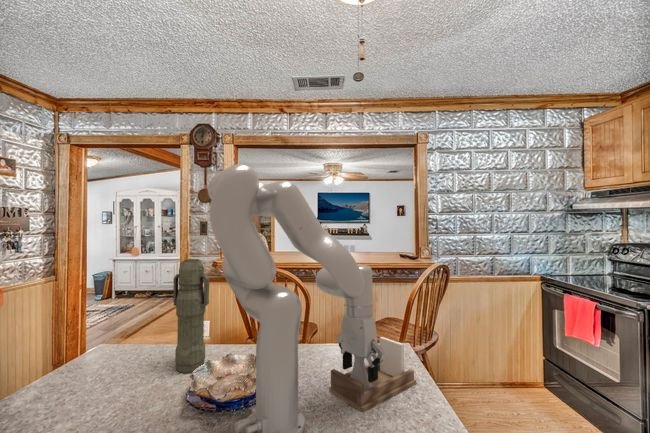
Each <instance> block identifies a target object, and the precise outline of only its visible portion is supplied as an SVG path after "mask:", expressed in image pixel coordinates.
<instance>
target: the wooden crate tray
mask: <svg viewBox="0 0 650 433" xmlns="http://www.w3.org/2000/svg"><path fill="white" fill-rule="evenodd" d="M368 366H370V365H369V363H368V364H365V368H366V371H367V374H368ZM351 373H352V370H351V371H348V372H346V373H343V372H341V371H339V370H337V369H335V368H332V369H331V370H330V387H329V388H328V392H329V393H331V394H332V395H334V396H336V397H337V398H339V399H341V400H342V401H344V402H345V403H347V404H349V405H350V406H352V407H353V408H355V409H357V410H359V411H360V412H362V413H365V412H367V411H369V410H371V409H372V408H374V407H376V406H378V405H380V404H382V403H384V402H386V401H388V400H389V399H391V398H393V397H396V396H397V395H398V394H401V393H402V392H404V391H406V390H408V389H410V388H412V387H414V386H416V385H417V379H415V370H413V369H411V368H410V369H408V370H404V372H403V373H401V374H399V375H397V376H395V377H393V376H391V375H389V374H386V373H384V372H382V371H380V365H378V380H376V381H374V382H371V386H372V388H370V389H368V390H366V391H364V384H362V383H360V382H358V381H356V380H354V379H352V378H350V376H351Z"/></svg>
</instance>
